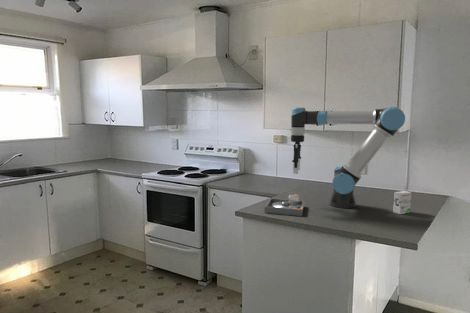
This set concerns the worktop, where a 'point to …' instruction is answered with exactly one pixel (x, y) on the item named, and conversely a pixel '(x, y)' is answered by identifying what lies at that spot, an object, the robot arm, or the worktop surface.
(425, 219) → the worktop surface
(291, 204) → the dial
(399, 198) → the ink box
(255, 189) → the worktop surface
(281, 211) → the grey square tray
